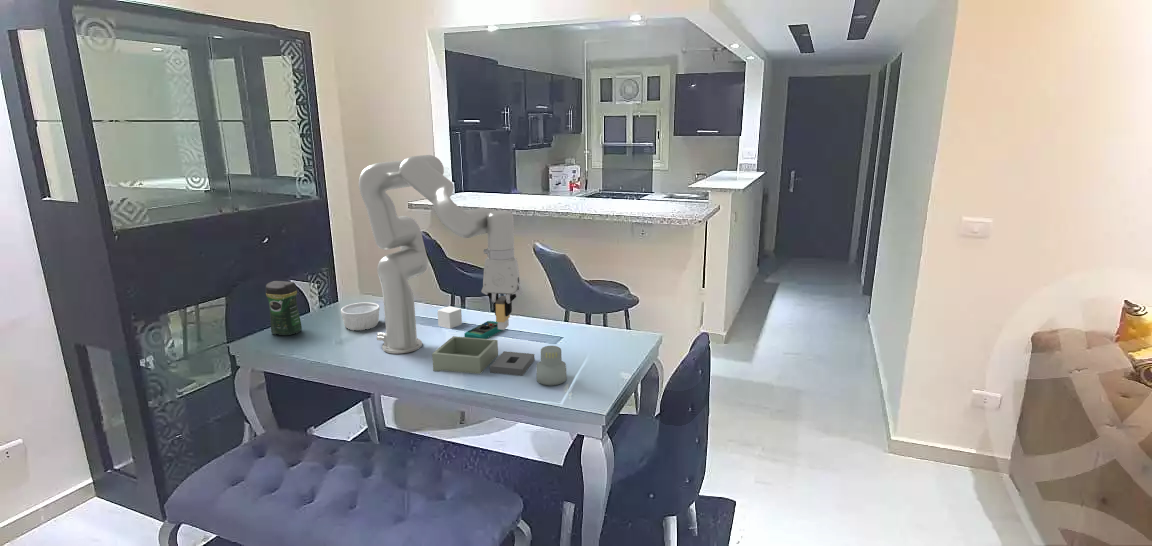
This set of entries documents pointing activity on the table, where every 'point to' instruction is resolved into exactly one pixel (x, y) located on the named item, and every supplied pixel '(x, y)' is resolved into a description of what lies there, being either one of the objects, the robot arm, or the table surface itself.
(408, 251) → the robot arm
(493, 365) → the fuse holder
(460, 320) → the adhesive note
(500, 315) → the block
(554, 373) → the air freshener
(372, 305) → the ramekin
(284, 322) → the coffee jar
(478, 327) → the digital multimeter
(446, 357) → the parts tray
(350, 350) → the table surface
